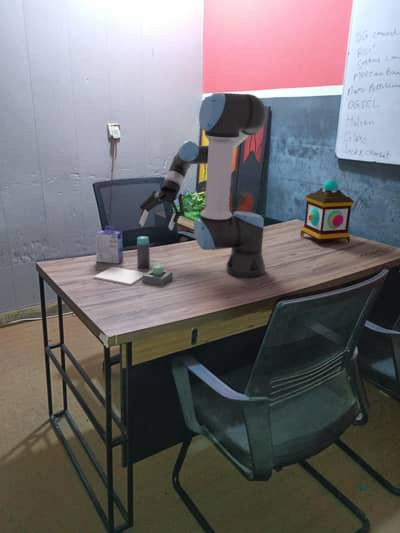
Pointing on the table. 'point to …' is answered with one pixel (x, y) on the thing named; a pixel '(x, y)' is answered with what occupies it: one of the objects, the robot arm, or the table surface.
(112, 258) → the ink cartridge box
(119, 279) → the paper pad
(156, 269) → the button
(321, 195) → the decorative lantern
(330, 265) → the table surface
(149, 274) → the button housing
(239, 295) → the table surface
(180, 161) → the robot arm
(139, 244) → the ball
